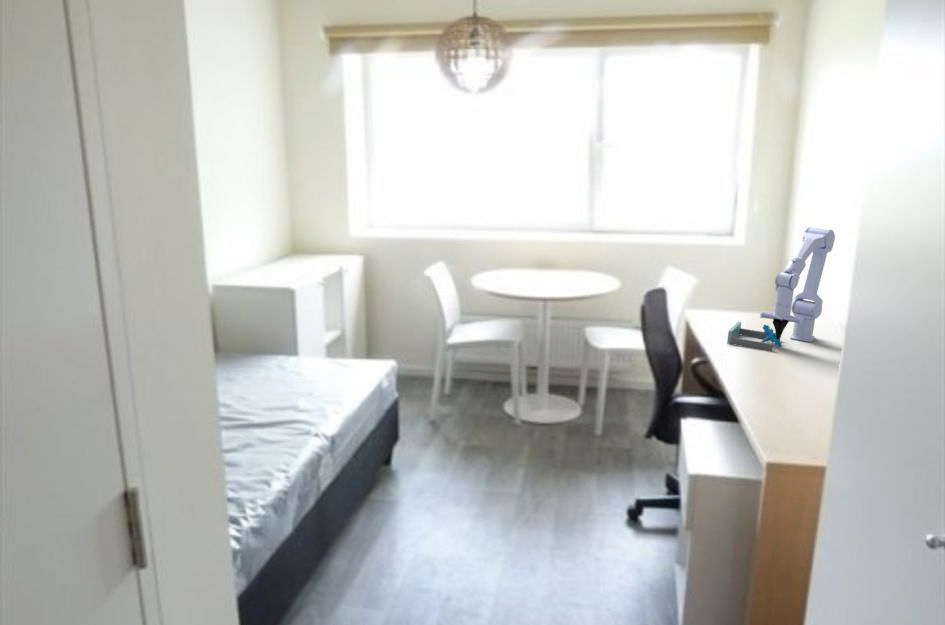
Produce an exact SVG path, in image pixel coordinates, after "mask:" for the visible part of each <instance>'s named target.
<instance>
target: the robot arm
mask: <svg viewBox="0 0 945 625" xmlns="http://www.w3.org/2000/svg"><path fill="white" fill-rule="evenodd" d="M835 235H836V234H835V231H834V230H833V229H824V228H816V227H810V226H808V227H807V228H805V230H804V231H803V234H802V245H801V246H800V249H799V251H798V252H797V253H796V254H797V255H796V256H794V257H791V259H790V260H789V262H788V263H787V264H786V265H785V268H784V269H783V271H781V272H778V274H777V275H776V277H775V279H774V285H775V291H776V294H775V295H776V296H775V301H774V302H775V303H774V309H773V312H763V311H761V312H760V317H759V318H760V319H770V320H772V325H773V327H774V332H776V339H780V340H781V338H782V334H783V332H784V330H785V328H787V325H788V324H789V322H790V323H793V330H792V334H791V335H790V337H789V339H790V340H797V341H803V342H809V343H812V342H813V341H814V339H815V335H814V327H815V324H816V323H815V321H816V319H818V318H819V317H820V316H821V314H822V310H823V299H822V297H820V295H819V294H818V291H819V287H820V283H821V279H822V275H823V271H824V268H825V264H826V259H827V256H828V253H830V252H832V250H833V247H834V244H835V240H836V236H835ZM811 254H812V255H811ZM810 256H811V259H810V263H809V267H808V271H807V275H806V279H805V282H804V286H803V291H802V292H800V293H798V294H796V295H795V296H794V290H795V289H796V288H797V287H798V284H799V280H800V278H801V277H800V276H801V274H802V272H803V271H804V270H805V267H806V265H807V264H806V261H807V260H808V258H809V257H810ZM793 298H794V300H793ZM791 312H792V314H793V315H791Z"/></svg>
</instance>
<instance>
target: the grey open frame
mask: <svg viewBox="0 0 945 625" xmlns="http://www.w3.org/2000/svg"><path fill="white" fill-rule="evenodd" d="M727 332H728V333H727V334H728V335H727V342H726V344H728V343H729V345H734V344H736V345H735V346H739V345H742V346H741V347H745V346H747V348H751V347H752V348H753V349H757V348H758V350H763V349H765V350H764V351H769V350H770V351H769V352H773V348H774V343H769V342H761V341H758V340H752V339H751V340H750V339H744V338H739V337H737V336H739V334H742V335H741V336H744V335H747V336H746V337H750V336H752V337H751V338H756V337H758V338H757V339H763V338H765V339H766V338H767V334H766V333H764V331H761V330H754V329H747V328H742V322H741V321H738V322H737V323H735V324H734V325H733V326H732V327H731V328H730V329H729V330H728V331H727ZM736 337H737V338H736Z"/></svg>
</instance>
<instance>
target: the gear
mask: <svg viewBox="0 0 945 625" xmlns="http://www.w3.org/2000/svg"><path fill="white" fill-rule="evenodd" d="M762 329H763V332H764V333H766V334H767V338H766V339H762V340H761V341H760V342H764V343H769V341H770V342H771V344H774V346H776V347H778V348H780V347H782V344H783V343H782V342H781V338H780V339H776V331H774V329H773V328H771V327H770V326H769V325H768V324H764V325H763V326H762Z"/></svg>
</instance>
